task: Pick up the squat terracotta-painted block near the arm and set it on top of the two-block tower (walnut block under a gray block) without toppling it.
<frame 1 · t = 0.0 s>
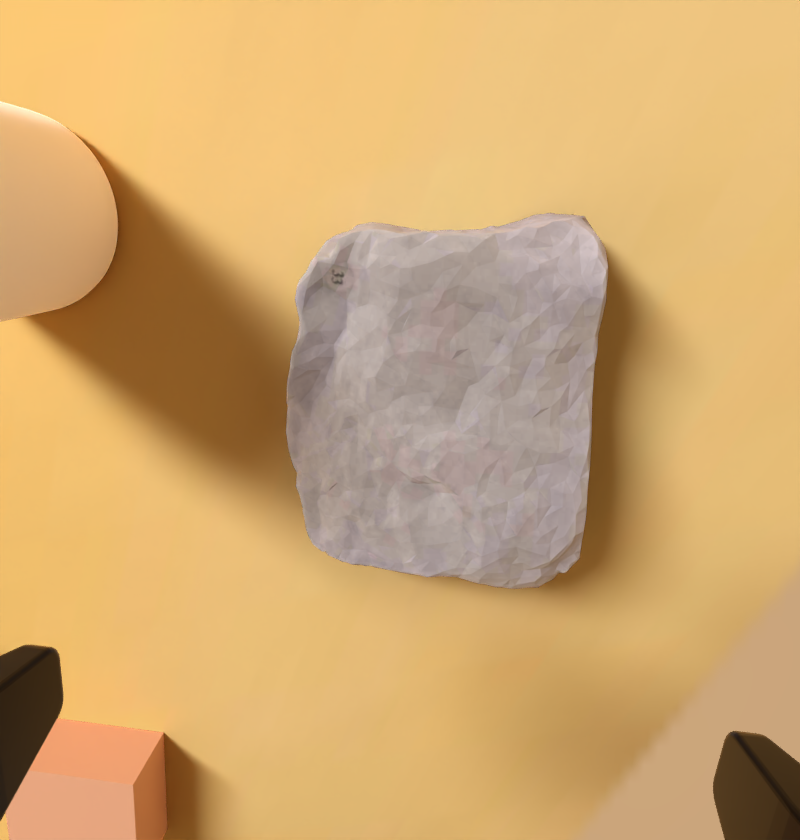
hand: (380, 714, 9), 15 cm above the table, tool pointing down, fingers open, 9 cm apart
terracotta block: (109, 769, 29), on the table
stone block: (434, 389, 23), on the table
can: (37, 213, 22), on the table
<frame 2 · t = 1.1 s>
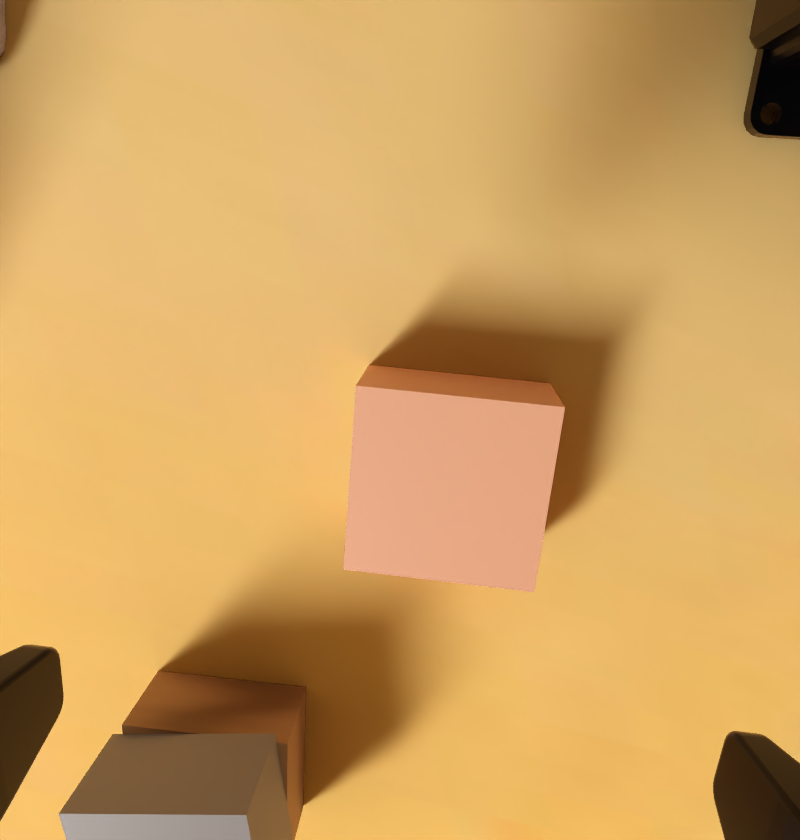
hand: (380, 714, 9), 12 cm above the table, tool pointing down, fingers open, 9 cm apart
terracotta block: (449, 455, 20), on the table
walnut block: (235, 733, 24), on the table
gray block: (207, 800, 22), point 3 cm above the table
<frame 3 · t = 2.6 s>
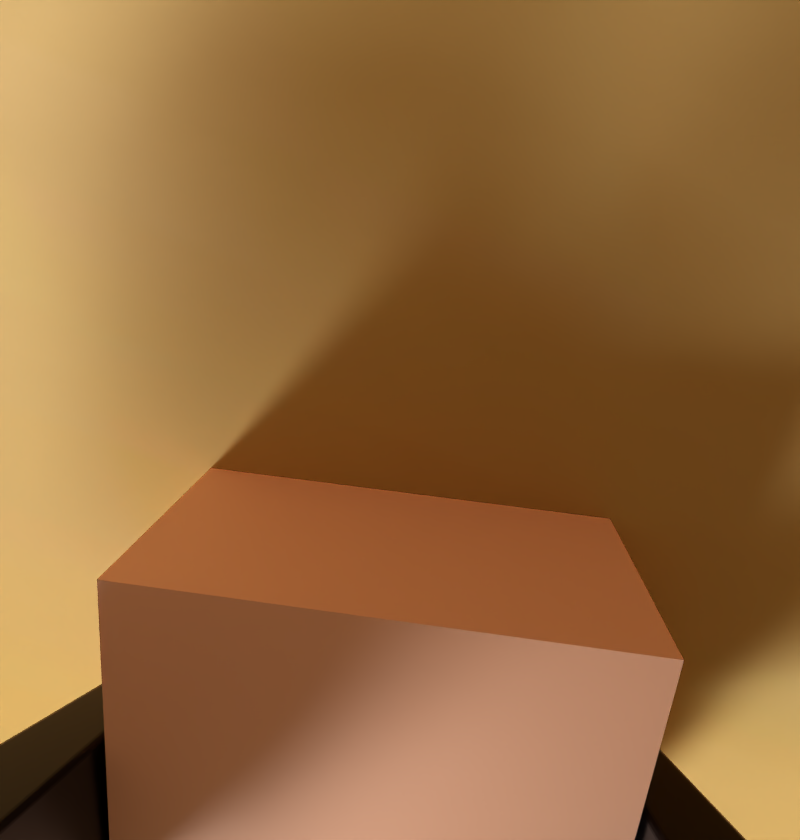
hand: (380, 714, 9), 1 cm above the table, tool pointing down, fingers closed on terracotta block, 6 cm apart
terracotta block: (388, 659, 10), on the table, touching gripper
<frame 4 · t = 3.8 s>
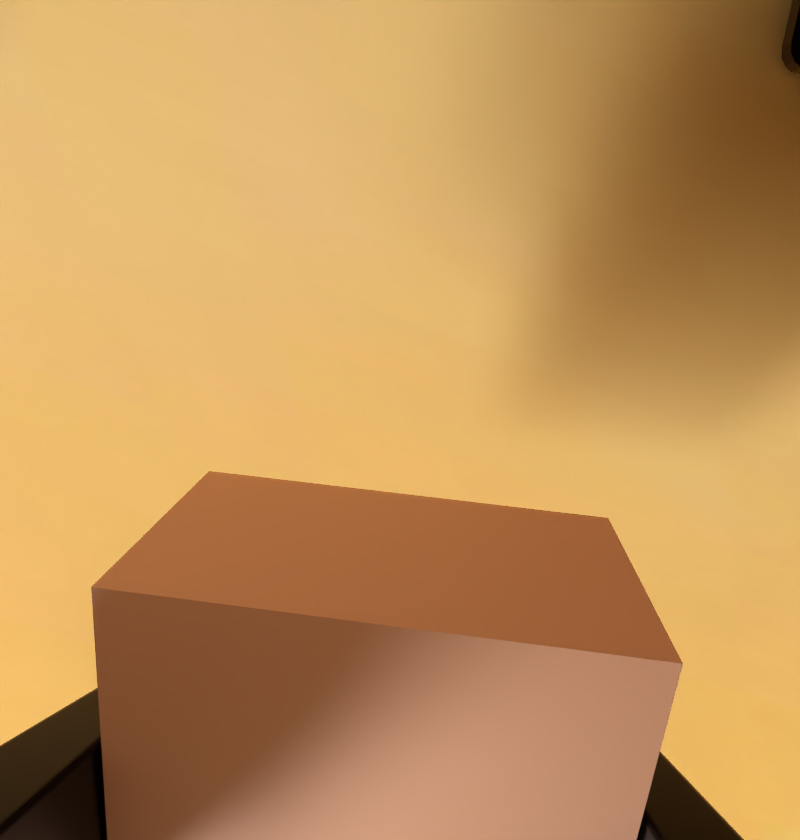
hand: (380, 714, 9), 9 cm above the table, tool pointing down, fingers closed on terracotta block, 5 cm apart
terracotta block: (388, 662, 10), point 8 cm above the table, touching gripper
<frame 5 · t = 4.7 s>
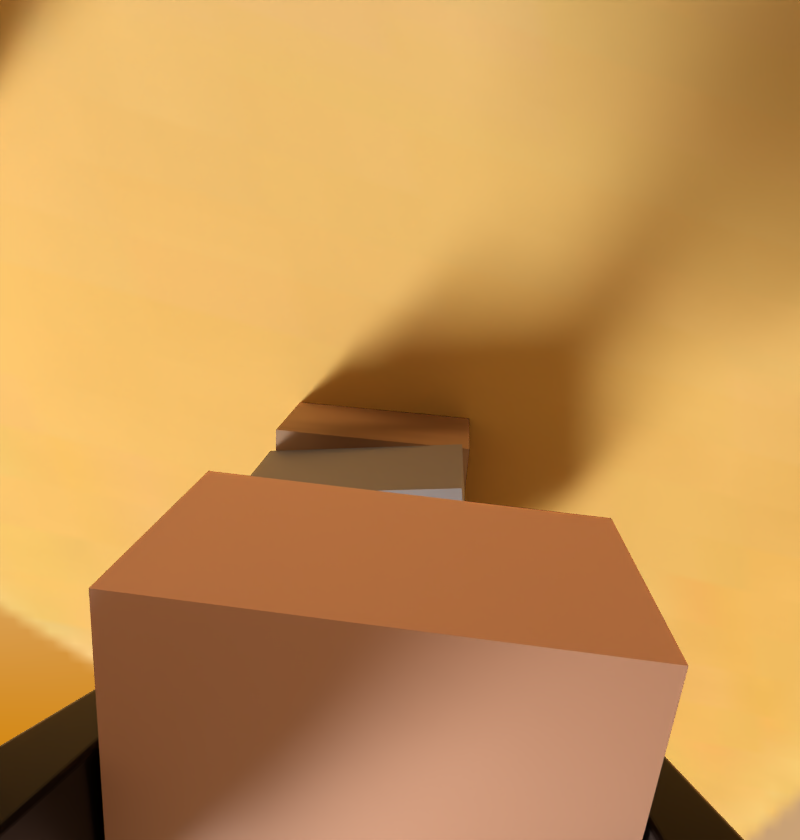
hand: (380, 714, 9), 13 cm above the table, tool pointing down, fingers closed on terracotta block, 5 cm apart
terracotta block: (389, 664, 9), point 12 cm above the table, touching gripper
walnut block: (379, 485, 22), on the table, touching gray block
gray block: (373, 534, 19), point 3 cm above the table, touching walnut block
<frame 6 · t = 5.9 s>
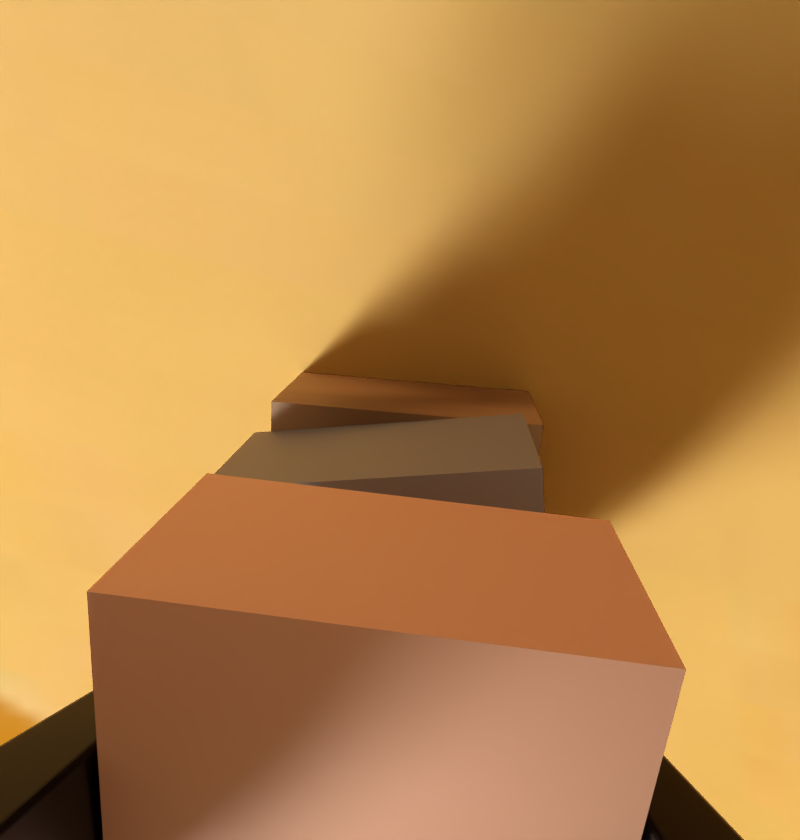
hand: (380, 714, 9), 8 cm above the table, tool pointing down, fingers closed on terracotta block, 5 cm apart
terracotta block: (387, 666, 9), point 7 cm above the table, touching gripper
walnut block: (407, 482, 17), on the table
gray block: (399, 545, 14), point 3 cm above the table
when the fingers open (8 cm above the table, at t = 6.3 s): terracotta block drops 1 cm, resting on gray block.
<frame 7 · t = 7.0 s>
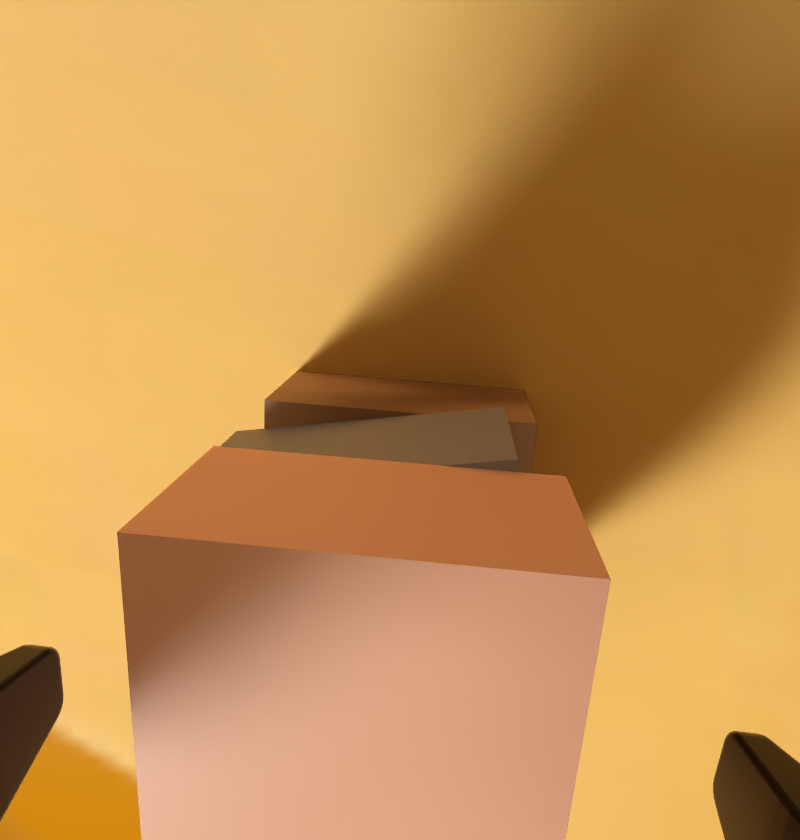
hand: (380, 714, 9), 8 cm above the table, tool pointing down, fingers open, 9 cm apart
terracotta block: (378, 614, 11), point 6 cm above the table, touching gray block
walnut block: (402, 482, 16), on the table, touching gray block
gray block: (384, 541, 14), point 3 cm above the table, touching terracotta block, walnut block
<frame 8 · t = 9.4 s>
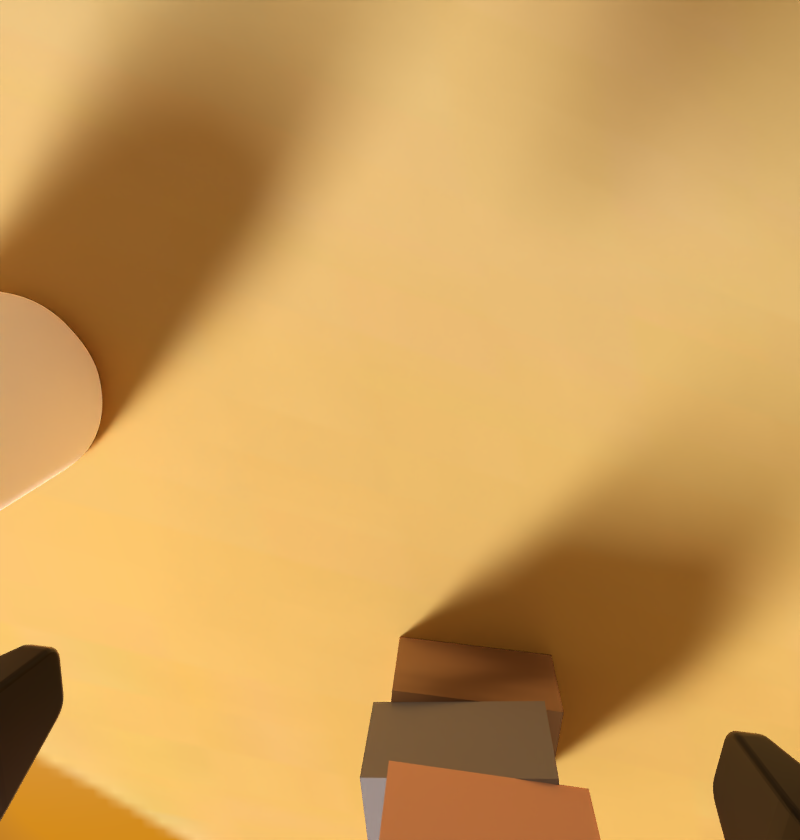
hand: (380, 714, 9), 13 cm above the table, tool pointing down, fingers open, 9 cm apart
walnut block: (466, 704, 24), on the table, touching gray block
can: (22, 384, 22), on the table
gray block: (462, 770, 21), point 3 cm above the table, touching terracotta block, walnut block
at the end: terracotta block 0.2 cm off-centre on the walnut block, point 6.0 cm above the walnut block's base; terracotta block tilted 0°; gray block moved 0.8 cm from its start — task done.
